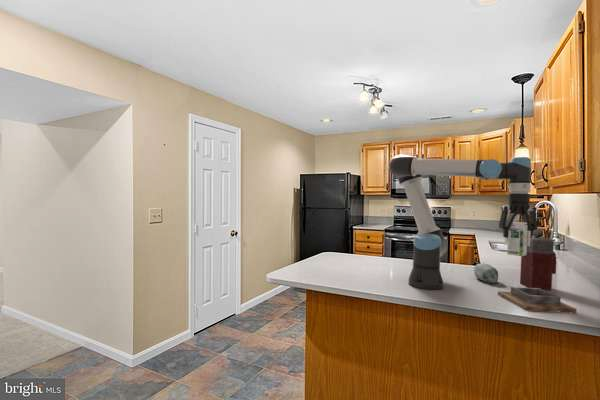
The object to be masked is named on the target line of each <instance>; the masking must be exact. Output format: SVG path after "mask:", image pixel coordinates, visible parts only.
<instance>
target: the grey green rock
mask: <svg viewBox="0 0 600 400" xmlns="http://www.w3.org/2000/svg"><path fill="white" fill-rule="evenodd" d="M473 273H474V276H475V278H477V279H479V280H481V281H482V282H485V283H489V284H496V283H497V282H498V280H499V271H498V270H497V268H495V267H494V266H492V265H491V264H488V263H477V264H475V266H474V268H473Z"/></svg>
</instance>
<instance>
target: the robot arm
mask: <svg viewBox="0 0 600 400" xmlns="http://www.w3.org/2000/svg"><path fill="white" fill-rule="evenodd" d="M388 166H389V167H388V169H389V171H390V173H391V175H392V176H394V177H395V178H397V180H398V182H399V185H400V186H401V187H403V188H404V191H405V195H406V198H407V200H408V202H409V203H408V204H409V206H410V208H411V209H410V210H411V211H412V212H411V213H412V215H413V217H414V220H415V224H416V227H417V230H418V232H417V234H415V236H414V237H413V242H412V243H413V249H412V250H413V253H412V255H413V256H412V269H411V271H410V274H409V276H408V280H407V281H408V284H409V285H410V286H412V287H415V288H417V289H423V290H428V291H429V290H432V291H433V290H435V291H437V290H438V291H439V290H442V289H444V279H443V277H442V274H441V273H442V272H441V258H442V257H444V256H445V255H446V253H447V251H448V248H449V247H448V246H449V244H448V243H449V242H448V241H447V239H446V238H445V236H444V235H443V232H442V230H441V228H440V227H438V226H437V225H436V222H435V219H434V216H433V213H432V211H431V208H430V205H429V202H428V199H427V196H426V194H425V191H424V188H423V185H422V183H421V182H422V179H423V175H425V176H442V177H443V176H446V177H466V178H468V177H469V178H478V179H479V180H483V181H488V180H490V181H491V180H492V181H494V180H496V181H497V180H498V181H499V180H509V187H508V192H509V194H508V202H509V203H508V205H502V206H501V214H500V218H499V225H498V228H499V229H501V230H503V234H502V235H503V236H502V237H503V238H504V245H505V246H507V247H508V246H510V243H511V231H510V230H509V229H510V226H511V224H512V222H513V221H514V220H515V218H516V217H517V215H520V217H521V218H522V222H527V225H528V228H527V246H530V238H532V237H533V231H534V230H537V228H538V221H537V207H536V206H531V205H530V201H531V194H530V192H531V180H532V179H531V177H532V159H531V158H530V157H527V156H518V157H511V158H510V160H509V162H508V161H507V162H500V161H499V160H496V159H492V158H489V159H465V158H464V159H462V158H460V159H459V158H456V159H455V158H421V157H419V158H418V157H417V156H416V155H405V154H397V155H395V156H394V157H393V158H392V159H391V160H390V162H389V165H388Z"/></svg>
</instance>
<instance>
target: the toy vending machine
mask: <svg viewBox="0 0 600 400" xmlns="http://www.w3.org/2000/svg"><path fill="white" fill-rule="evenodd" d="M543 235H544V231H543V229H542V228H541V227H537V230H534V231H532V238H530V246H527V253H526V255H525V256H520V276H519V277H520V278H519V283H520V285H521V286H523V287H524V288H540V289H542V290H544V291H552V288H553V287H552V286H553V275H556V274H557V255H556V252H555V251H554V243H555V240H553V239H551V238H547V237H543Z"/></svg>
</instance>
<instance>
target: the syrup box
mask: <svg viewBox="0 0 600 400" xmlns="http://www.w3.org/2000/svg"><path fill="white" fill-rule="evenodd" d="M527 228H528V225H527V222H523V221H514V220H513V222H512V224H511V226H510V229H509V230H510V231H511V243H510V246H508V245H507V250H506V251H507V252H506V255H509V256H510V255H511V256H518V257H521V256H525V255H526V253H527Z"/></svg>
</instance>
